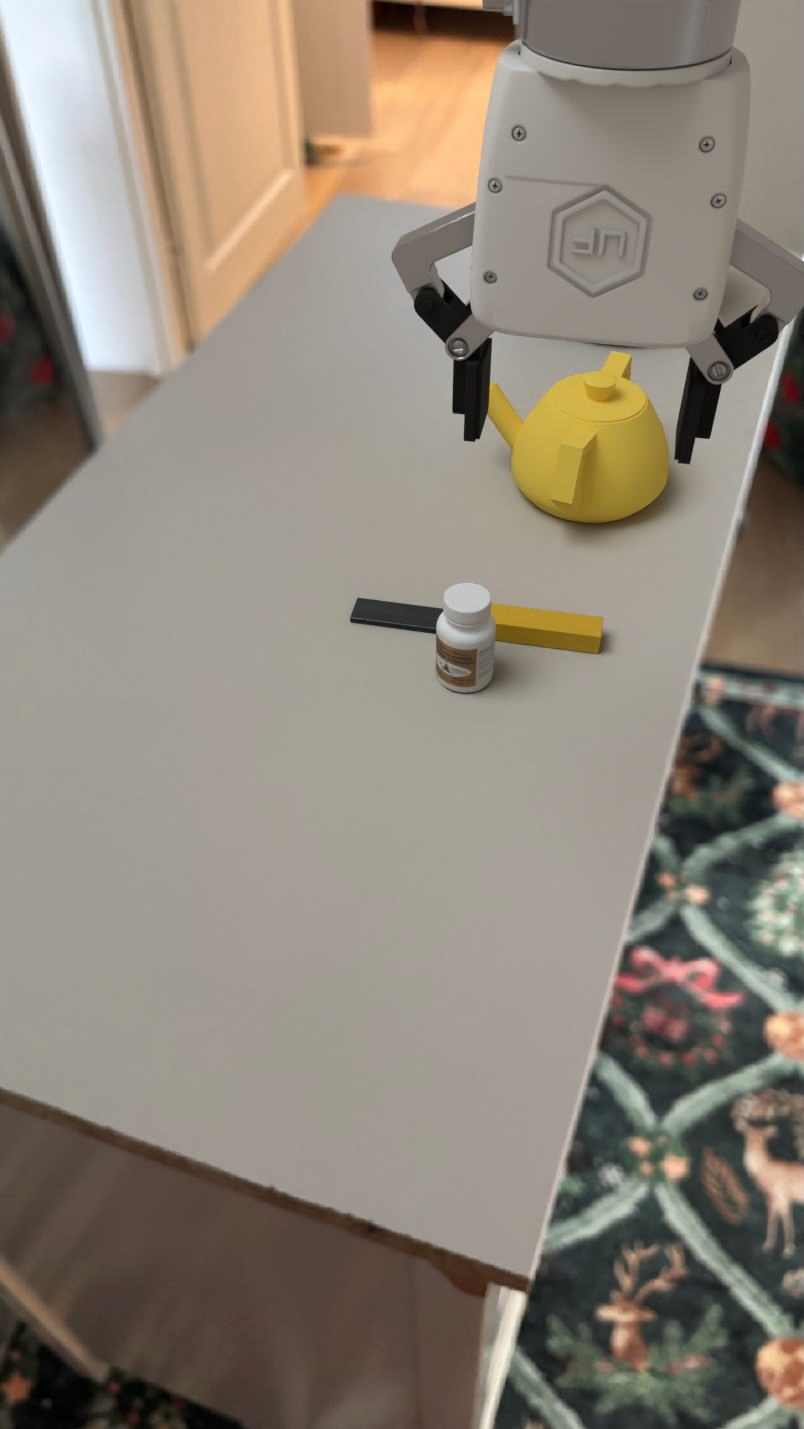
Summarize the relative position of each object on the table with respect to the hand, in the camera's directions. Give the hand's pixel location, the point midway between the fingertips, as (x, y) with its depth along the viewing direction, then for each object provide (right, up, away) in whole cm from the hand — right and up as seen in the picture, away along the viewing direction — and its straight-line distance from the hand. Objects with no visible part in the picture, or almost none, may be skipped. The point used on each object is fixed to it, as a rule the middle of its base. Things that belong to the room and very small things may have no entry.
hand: (577, 437), depth 50 cm
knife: (-2, -6, +36) cm, 37 cm away
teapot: (+7, +9, +51) cm, 52 cm away
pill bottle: (-3, -10, +33) cm, 34 cm away
